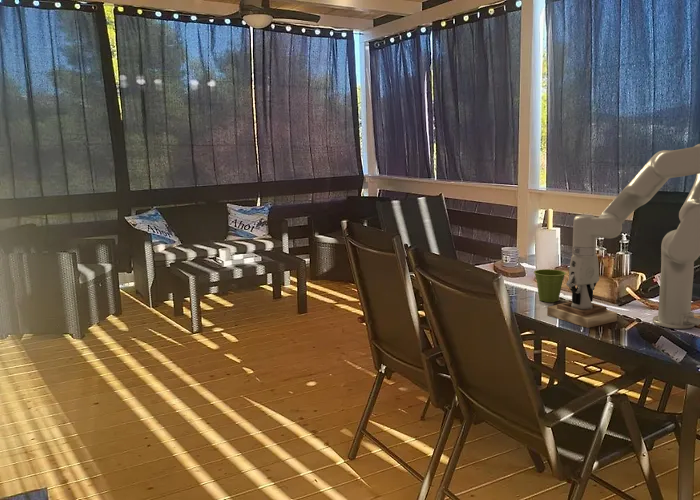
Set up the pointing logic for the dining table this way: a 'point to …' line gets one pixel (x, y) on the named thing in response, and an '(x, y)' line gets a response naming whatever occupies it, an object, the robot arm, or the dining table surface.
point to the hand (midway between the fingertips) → (582, 301)
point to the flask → (583, 299)
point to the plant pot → (549, 284)
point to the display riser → (582, 314)
